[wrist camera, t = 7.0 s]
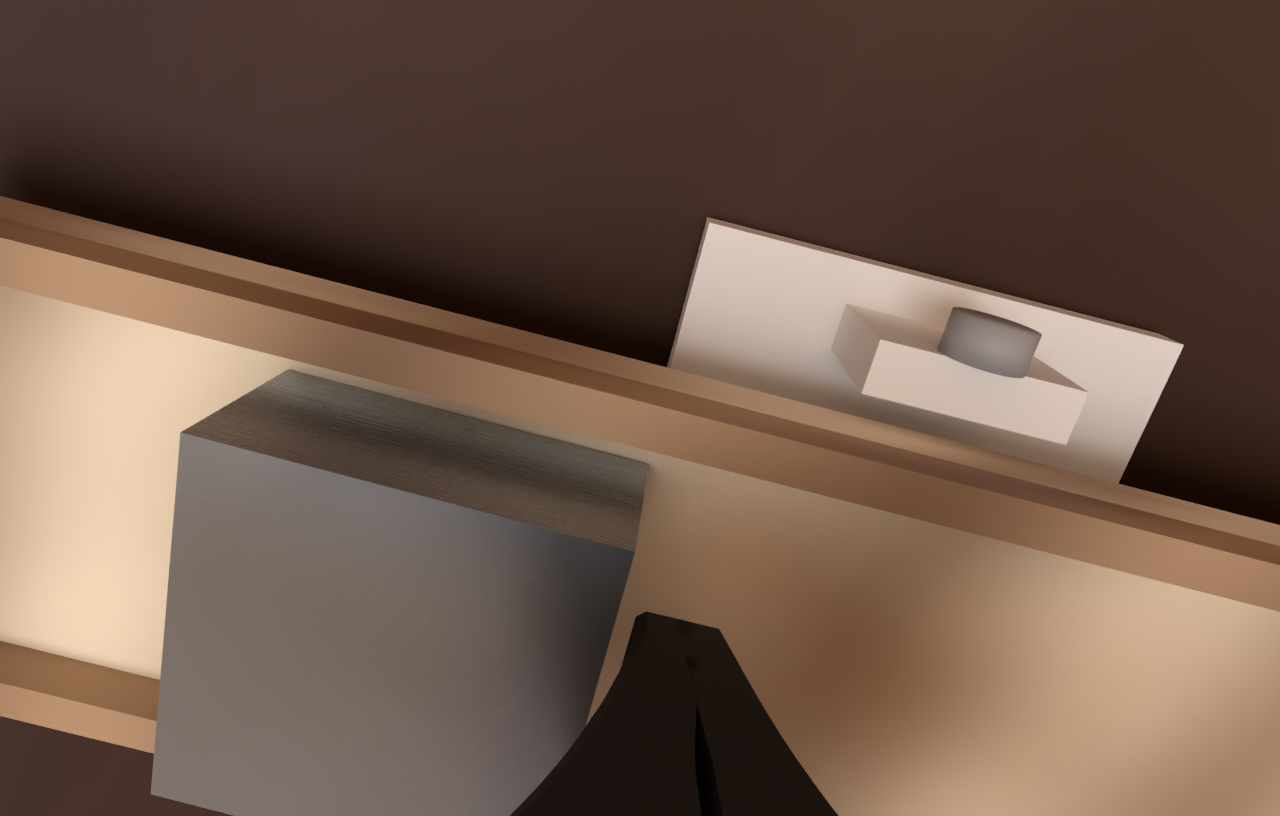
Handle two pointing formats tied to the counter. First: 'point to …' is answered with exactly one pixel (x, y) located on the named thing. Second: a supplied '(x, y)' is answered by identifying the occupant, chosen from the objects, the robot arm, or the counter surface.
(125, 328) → the beam
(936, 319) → the fulcrum stand
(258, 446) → the steel block
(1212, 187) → the counter surface
